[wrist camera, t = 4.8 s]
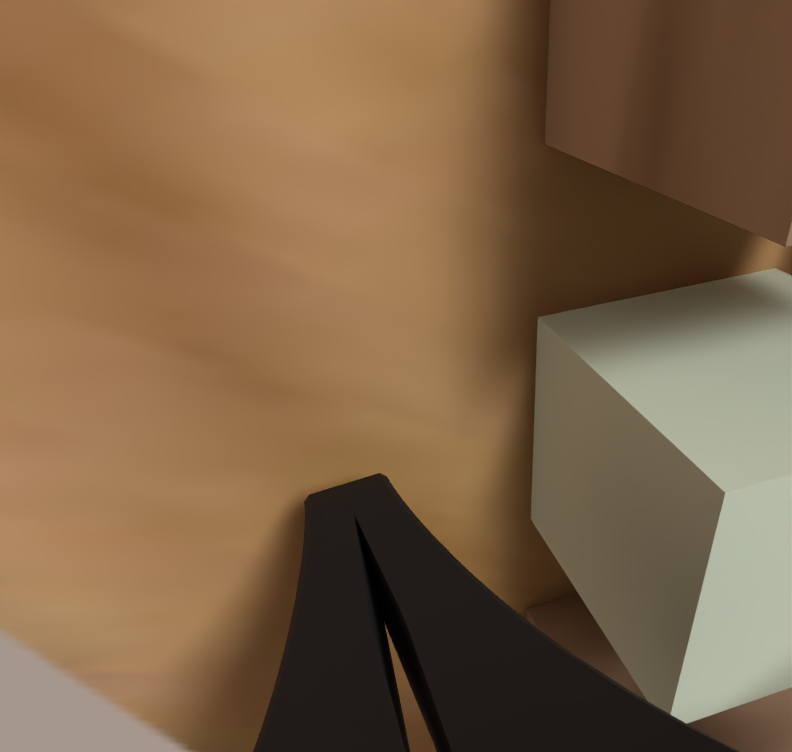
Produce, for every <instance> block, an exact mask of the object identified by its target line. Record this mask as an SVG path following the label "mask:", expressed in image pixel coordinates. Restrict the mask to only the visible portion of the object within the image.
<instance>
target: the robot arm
mask: <svg viewBox="0 0 792 752" xmlns="http://www.w3.org/2000/svg"><path fill="white" fill-rule="evenodd" d="M304 505H305V533H304V545H303V554H302V563H301V569H300V575H299V581H298V588H297V594H296V600H295V605H294V610H293V615H292V619H291V624H290V628H289V632H288V637H287V641H286V645H285V650H284V654H283V658H282V662H281V665H280V669H279V673H278V676H277V680H276V684H275V687H274V690H273V694H272V697H271V700H270V703H269V707H268V710H267V713H266V716H265V719H264V722H263V725H262V728H261V731H260V734H259V737H258V740H257V743H256V745H255V748H254V751H253V752H410V749H409V744H408V739H407V734H406V729H405V724H404V719H403V714H402V709H401V704H400V699H399V694H398V689H397V684H396V678H395V673H394V668H393V663H392V658H391V653H390V648H389V643H388V638H387V633H386V628H385V625H386V627H387V630H388V632H389V634H390V637H391V639H392V642H393V644H394V647H395V649H396V652H397V654H398V657H399V659H400V662H401V664H402V667H403V669H404V671H405V674H406V676H407V679H408V681H409V684H410V686H411V689H412V691H413V694H414V696H415V698H416V701H417V703H418V706H419V708H420V711H421V713H422V716H423V718H424V721H425V723H426V725H427V728H428V730H429V733H430V735H431V738H432V740H433V743H434V745H435V748H436V751H437V752H740V751H738V750H736V749H734V748H732V747H730V746H728V745H726V744H724V743H722V742H720V741H718V740H716V739H714V738H712V737H711V736H709V735H707V734H705V733H703V732H701V731H699V730H698V729H696V728H694V727H692V726H690V725H688V724H686V723H685V722H683V721H681V720H679V719H677V718H676V717H674V716H672V715H671V714H669V713H667V712H665V711H664V710H662V709H660V708H658V707H657V706H655V705H653V704H652V703H650V702H648V701H646V700H645V699H643V698H641V697H639V696H638V695H636V694H634V693H633V692H631V691H630V690H628V689H627V688H625V687H623V686H622V685H620V684H619V683H617V682H616V681H614V680H613V679H611V678H609V677H608V676H606V675H605V674H603V673H602V672H600V671H599V670H597V669H595V668H594V667H592V666H591V665H589V664H588V663H586V662H585V661H583V660H581V659H580V658H578V657H577V656H575V655H574V654H572V653H571V652H569V651H568V650H567V649H565V648H564V647H562V646H561V645H560V644H558V643H557V642H556V641H554V640H553V639H551V638H550V637H549V636H547V635H546V634H544V633H543V632H542V631H540V630H539V629H538V628H536V627H535V626H534V625H533V624H531V623H530V622H529V621H527V620H526V619H525V618H523V617H522V616H521V615H520V614H518V613H517V612H516V611H515V610H513V609H512V608H511V607H510V606H508V605H507V604H506V603H505V602H504V601H502V600H501V599H500V598H499V597H498V596H496V595H495V594H494V593H493V592H492V591H491V590H490V589H488V588H487V587H486V586H485V585H484V584H483V583H482V582H481V581H479V580H478V579H477V578H476V577H475V576H474V575H473V574H472V573H471V572H469V571H468V570H467V569H466V568H465V567H464V566H463V565H462V564H461V563H460V562H459V561H458V560H457V559H456V558H455V557H454V556H453V555H452V554H451V553H450V552H449V551H448V550H447V549H446V548H445V547H444V546H443V545H442V544H441V543H440V542H439V541H438V540H437V539H436V538H435V537H434V536H433V535H432V534H431V532H430V531H429V530H428V529H427V528H426V527H425V526H424V525H423V524H422V523H421V521H420V520H419V519H418V518H417V517H416V516H415V514H414V513H413V512H412V511H411V510H410V508H409V507H408V506H407V505H406V503H405V502H404V501H403V500H402V498H401V497H400V496H399V494H398V493H397V492H396V490H395V489H394V487H393V486H392V484H391V483H390V481H389V479H388V478H387V476H385V475H383V474H380V473H378V474H375V475H372V476H368V477H365V478H362V479H359V480H356V481H352V482H349V483H346V484H343V485H339V486H336V487H333V488H330V489H327V490H323V491H320V492H317V493H314V494H310V495H309V496H308V497H307V499H306V500H305V502H304ZM384 622H385V623H384Z"/></svg>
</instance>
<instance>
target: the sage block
mask: <svg viewBox="0 0 792 752" xmlns="http://www.w3.org/2000/svg"><path fill="white" fill-rule="evenodd" d="M531 521H532V522H533V524H534V525H535V527H536V528H537V530H538V531H539V533H540V535H541V536H542V538H543V539H544V541H545V542H546V544H547V545H548V547H549V549H550V550H551V552H552V553H553V555H554V556H555V558H556V559H557V561H558V563H559V564H560V566H561V567H562V569H563V570H564V572H565V573H566V575H567V577H568V578H569V580H570V581H571V583H572V584H573V586H574V587H575V589H576V591H577V592H578V594H579V595H580V597H581V598H582V600H583V601H584V603H585V605H586V606H587V608H588V609H589V611H590V612H591V614H592V615H593V617H594V619H595V620H596V622H597V623H598V625H599V626H600V628H601V629H602V631H603V633H604V634H605V636H606V637H607V639H608V640H609V642H610V643H611V645H612V647H613V648H614V650H615V651H616V653H617V654H618V656H619V657H620V659H621V661H622V662H623V664H624V665H625V667H626V668H627V670H628V671H629V673H630V675H631V676H632V678H633V679H634V681H635V682H636V684H637V685H638V687H639V689H640V690H641V692H642V693H643V695H644V696H645V698H646V700H647V701H648V702H650V703H652V704H653V705H655V706H657V707H658V708H660V709H662V710H664V711H665V712H667V713H669V714H671V715H672V716H674V717H676V718H677V719H679V720H681V721H683V722H685V723H686V724H687V723H690V722H693V721H696V720H699V719H702V718H705V717H707V716H710V715H713V714H716V713H719V712H722V711H725V710H728V709H731V708H734V707H736V706H739V705H742V704H745V703H748V702H751V701H754V700H757V699H760V698H762V697H765V696H768V695H771V694H774V693H777V692H780V691H783V690H786V689H788V688H791V687H792V276H791V275H789V274H787V273H785V272H783V271H781V270H779V269H777V268H773V269H768V270H764V271H759V272H754V273H749V274H744V275H739V276H735V277H730V278H725V279H720V280H715V281H710V282H705V283H701V284H696V285H691V286H686V287H681V288H676V289H672V290H667V291H662V292H657V293H652V294H647V295H642V296H638V297H633V298H628V299H623V300H618V301H613V302H609V303H604V304H599V305H594V306H589V307H584V308H579V309H575V310H570V311H565V312H560V313H555V314H550V315H546V316H541V317H538V325H537V354H536V383H535V412H534V441H533V470H532V498H531Z"/></svg>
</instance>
